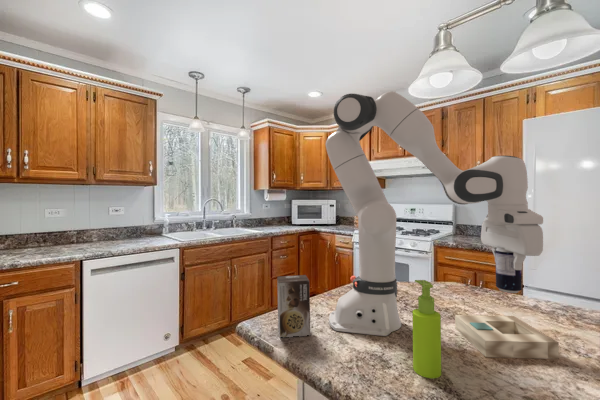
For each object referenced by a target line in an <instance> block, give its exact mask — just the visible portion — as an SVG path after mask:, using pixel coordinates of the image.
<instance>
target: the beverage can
mask: <svg viewBox="0 0 600 400" xmlns="http://www.w3.org/2000/svg"><path fill="white" fill-rule="evenodd" d="M495 259H496V262H495V286H496V288H497V289H498V290H499V291H501V292H503V293H509V294H517V293H520V291H522V290H523V288H522V287H523V285H522V281H523V280H522V279H523V278H522V277H523V276H522V275H523V274H522V270H515V269H512V268H511V266H512V265H511V262H514V259H515V257H514V255H513V252H511V251H507V250H505V248H503V247H498V246H497V249H496V250H495V256H494V260H495Z"/></svg>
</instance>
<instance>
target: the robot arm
mask: <svg viewBox="0 0 600 400" xmlns="http://www.w3.org/2000/svg"><path fill="white" fill-rule="evenodd" d="M333 118H334V121H335V123H336V124H337V126H338V128H337V129H336V131H334V132H333V133H331V134H330V135H329V136H328V137H327V139H326V141H325V149H326V152H327V156H328V158H329V161H330V164H331V166H332V170H333V171H334V173H335V175H336V177H337V179H338V181H339V183H340V185H341V188H342V189H343V191H344V193H345V195H346V197H347V199H348V200H349V202H350V204H351V206H352V208H353V211H354V212H355V214H356V216H357V222H358V227H357V228H358V229H357V231H358V256H359V257H358V263H359V264H358V269H359V270H358V271H359V274H358V276H356V275H351V277H349V278H350V282H351V283H352V288H351V289H350V290H349V291H348V292H346V293H344V294H343V295H341V296H340V297H339V298H338V299H337V303H336V307H335V310H332V311H331V312H330V313H329V316H328V323H329V326H330V327H331V328H332V329H333V331H337V332H343V333H344V332H345V333H352V334H353V333H354V334H364V335H371V336H372V335H373V336H382V337H387V336H389V335H390V334H391V332H395V331H397V330H399V329H400V328H401V327H402V322H401V318H400V314H399V309H398V304H397V297H398V282H397V278H396V245H397V243H396V242H397V214H396V211H395V209H394V207H393V206H392V205H391V204H390V203H389V201H388V199H387V198H386V196H385V193H384V191H383V188H382V187H381V184H380V182H379V180H378V178H377V176H376V173H375V172H374V170H373V168H372V165H371V164H370V162H369V159H368V158H367V156H366V153H365V152H364V150H363V148H362V146H361V142H360V141H362V139H364V137H366V135H367V134H369V132H371V131H372V129H373V128H374V127H378V128H379V129H381V130H382V131H383V132H384V133H385V134H386V135H387V136H388V137H389V138H390V139H391V140H392V141H393V142H395V143H396V144H397V145H398V146H400V147H401V148H403V150H405V151H407V152H408V153H409V154H411V155H412V156H414V157H415V158H416V159H418V160H419V161H420V162H421V163H422V165H424V166H425V167H426V168H427V169H428V170H429V171H430V172H431V174H433V176H435V177H436V178H437V179H438V181H439V182H440V183H441V186H442V188H443V191H444V193H445V195H446V197H447V198H448V200H450V201H451V202H452V203H454V204H456V205H469V204H470V205H471V204H478V203H482V202H485V201H486V202H487V214H486V216H485V217H484V219H483V221H482V224H481V230H480V231H481V232H480V240H481V243H482V244H483V245H484V246H489V247H491V251H492V254H493V257H495V250H496V249H497V246H498V247H503V248H505V250H507V251H511V252H513V255H514V257H515V259H514V262H511V265H512V266H511V268H512V269H515V270H521V271H523V263H524V261H525V259H526V257H528V256H529V257H540V256H541V254H542V253H543V251H544V231H543V228H542V227H541V225H543V224H544V217H543V216H542V215H541V214H538V213H536V212H534V211H533V210H531V209H530V208H529V202H528V199H527V192H528V188H529V186H528V185H529V184H528V183H529V181H528V180H529V179H528V172H527V165H526V163H525V161H524V160H523V159H522V158H520V157H518V156H515V155H494V156H492V157H490V158H489V159H488V160H485V162H482V163H481V164H477V165H476V166H473V167H471V168H468V169H466V170H462V169H460V168H458V167H457V165H455V163H453V161H452V160H451V159H450V158H449V157H448V156H446V155H445V153H444V152H443V151H442V150H441V149H440V148H439V145H438V144H437V140H436V134H435V129H434V126H433V123H432V122H431V121H430V119H429V118H428V117H427V115H426V114H425V113H424V112H423V111H422V110H420V108H418V107H417V106H416V105H415V104H414V103H413V102H411V101H410V100H409V99H408V98H406V97H405V96H403V95H401V94H399V93H397V92H396V91H393V90H390V91H386V92H383V93H382V94H381V95H379V96H378V97H377V98H376V99H374V97H372V96H369V95H363V94H359V93H346V94H344V95H342V96H340V98H339V99H338V100H337V101H336V103H335V104H334V107H333ZM494 263H496V259H495V258H494Z"/></svg>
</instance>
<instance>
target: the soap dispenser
mask: <svg viewBox="0 0 600 400" xmlns="http://www.w3.org/2000/svg"><path fill="white" fill-rule="evenodd" d="M414 283H417V284H419V285H420V286H421V294H420V295H418V296H417V298H418V299H417V308H415V309H413V310H412V369H413V371H414V372H415V373H416V374H417V375H419V376H421V377H423V378H426V379H437V378H440V377H441V376H442V327H441V326H442V322H441V321H442V318H441V316H442V315H441V314H440V312H438V311H436V310H435V298H434V297H433V296H431V289H433V288H434V284H432V283H431V282H430V281H428V280H425V279H415V280H414Z"/></svg>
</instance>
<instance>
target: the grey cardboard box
mask: <svg viewBox="0 0 600 400" xmlns="http://www.w3.org/2000/svg"><path fill="white" fill-rule="evenodd" d="M276 279H277V282H276V283H277V287H276V288H277V329H278V330H277V331H278V336H280V337H289V338H294V337H293V336H299V337H307V335H309V336H311V334H312V333H311V307H310V306H311V303H310V302H311V299H310V297H311V295H310V293H311V292H310V279H309V278H308V276H307V275H306V274H301V275H300V274H298V275H296V274H295V275H283V276H281V275H280V276H277V277H276ZM280 337H279V338H280Z"/></svg>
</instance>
